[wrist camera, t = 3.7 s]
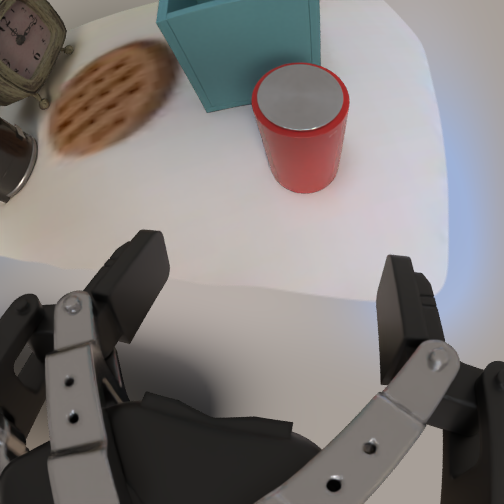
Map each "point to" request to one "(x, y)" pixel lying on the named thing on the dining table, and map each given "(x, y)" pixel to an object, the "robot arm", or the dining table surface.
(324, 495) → the robot arm
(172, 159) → the dining table surface
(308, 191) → the can
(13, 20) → the tabletop clock
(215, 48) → the teal open box
